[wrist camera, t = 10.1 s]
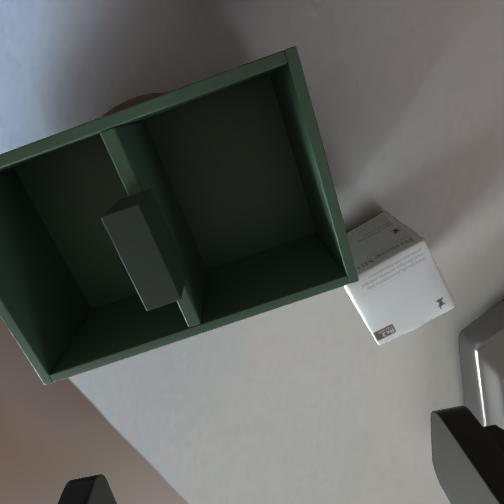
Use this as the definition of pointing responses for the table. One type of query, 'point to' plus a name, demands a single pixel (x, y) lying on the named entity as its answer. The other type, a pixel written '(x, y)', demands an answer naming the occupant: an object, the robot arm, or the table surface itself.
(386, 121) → the table surface
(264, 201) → the bin
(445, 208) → the table surface
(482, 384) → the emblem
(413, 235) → the product carton
